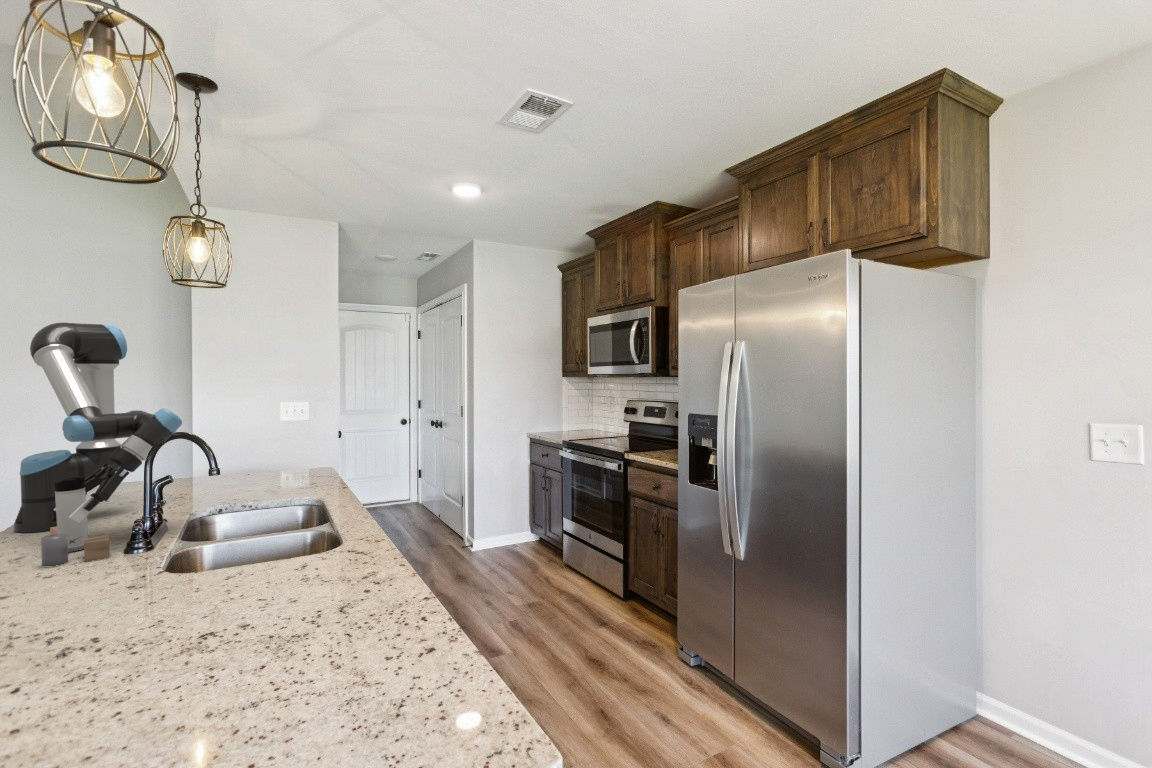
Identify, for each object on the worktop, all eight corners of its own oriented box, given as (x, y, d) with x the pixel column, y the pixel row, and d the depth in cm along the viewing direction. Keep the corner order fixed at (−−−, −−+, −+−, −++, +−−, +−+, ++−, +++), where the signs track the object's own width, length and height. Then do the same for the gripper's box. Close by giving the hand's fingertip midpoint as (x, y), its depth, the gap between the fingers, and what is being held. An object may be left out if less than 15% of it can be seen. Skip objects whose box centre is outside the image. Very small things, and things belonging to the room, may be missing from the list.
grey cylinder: (48, 561, 146) (47, 534, 146) (72, 559, 148) (71, 532, 148) (37, 568, 142) (36, 540, 141) (62, 565, 143) (61, 538, 143)
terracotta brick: (50, 541, 164) (50, 527, 164) (68, 537, 168) (68, 524, 168) (58, 546, 160) (58, 531, 160) (77, 542, 163) (76, 528, 163)
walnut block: (84, 557, 150) (84, 538, 150) (109, 553, 153) (108, 535, 153) (84, 562, 146) (84, 543, 146) (109, 558, 149) (109, 539, 149)
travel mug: (77, 552, 153) (73, 479, 152) (52, 553, 153) (47, 480, 152) (96, 544, 159) (91, 474, 159) (72, 545, 159) (67, 475, 158)
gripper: (159, 466, 161) (94, 531, 149) (127, 458, 175) (64, 517, 163) (136, 449, 156) (67, 515, 145) (105, 443, 171) (39, 502, 159)
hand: (65, 516), depth 154 cm, fingers open, 13 cm apart
